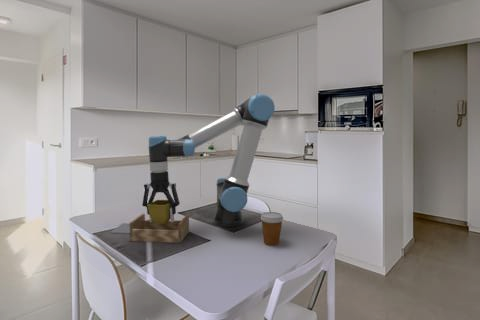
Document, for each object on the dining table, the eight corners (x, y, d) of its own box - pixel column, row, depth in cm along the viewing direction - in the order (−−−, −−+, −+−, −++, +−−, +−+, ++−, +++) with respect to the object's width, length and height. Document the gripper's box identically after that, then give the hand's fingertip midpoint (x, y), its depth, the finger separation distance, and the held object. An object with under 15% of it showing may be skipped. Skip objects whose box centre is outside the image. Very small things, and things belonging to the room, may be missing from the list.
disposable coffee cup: (277, 248, 117) (277, 219, 115) (256, 243, 122) (256, 215, 120) (286, 241, 125) (286, 213, 123) (266, 236, 130) (266, 210, 128)
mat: (148, 224, 146) (148, 223, 146) (137, 234, 133) (137, 233, 133) (123, 224, 147) (123, 223, 147) (109, 233, 134) (109, 232, 134)
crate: (189, 231, 137) (188, 214, 136) (180, 242, 123) (180, 224, 122) (143, 229, 138) (142, 213, 138) (130, 241, 124) (129, 222, 124)
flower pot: (167, 225, 125) (165, 205, 124) (148, 224, 127) (146, 204, 126) (175, 219, 134) (174, 199, 133) (157, 218, 135) (156, 199, 134)
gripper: (185, 169, 131) (187, 218, 133) (138, 170, 132) (142, 218, 135) (181, 172, 123) (183, 224, 126) (131, 172, 125) (135, 224, 127)
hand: (162, 221), depth 130 cm, fingers closed on flower pot, 9 cm apart
